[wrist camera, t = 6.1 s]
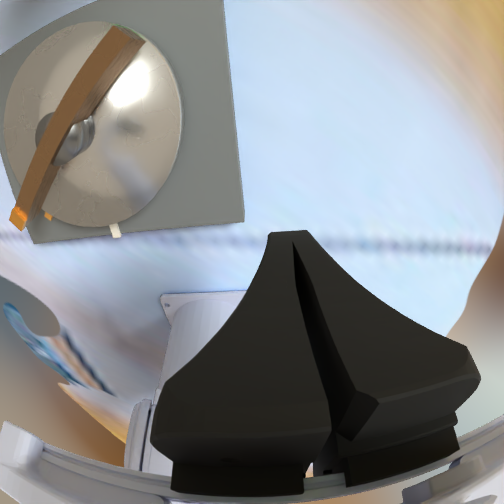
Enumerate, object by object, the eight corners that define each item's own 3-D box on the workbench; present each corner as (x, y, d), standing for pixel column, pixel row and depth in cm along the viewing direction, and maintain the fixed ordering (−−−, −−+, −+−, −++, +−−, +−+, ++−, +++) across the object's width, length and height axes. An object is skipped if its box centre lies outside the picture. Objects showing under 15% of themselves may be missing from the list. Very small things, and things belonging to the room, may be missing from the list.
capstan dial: (110, 250, 19) (88, 286, 16) (-5, 149, 14) (-39, 170, 11) (235, 110, 14) (229, 122, 11) (81, -9, 9) (42, -19, 5)
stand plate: (244, 213, 20) (244, 226, 18) (43, 236, 20) (33, 247, 19) (220, -24, 10) (218, -33, 9) (-3, 64, 11) (-17, 67, 10)
